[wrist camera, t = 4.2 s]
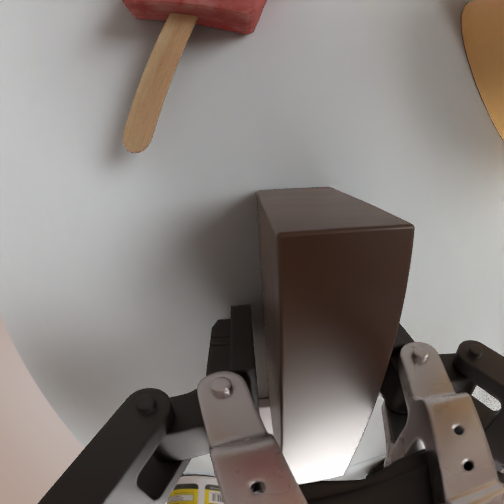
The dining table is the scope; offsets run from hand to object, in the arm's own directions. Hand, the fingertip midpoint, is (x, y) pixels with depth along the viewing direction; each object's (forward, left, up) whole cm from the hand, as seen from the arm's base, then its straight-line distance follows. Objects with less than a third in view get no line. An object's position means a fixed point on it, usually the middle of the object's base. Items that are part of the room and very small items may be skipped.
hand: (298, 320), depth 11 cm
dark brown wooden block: (0, -6, 0) cm, 6 cm away
